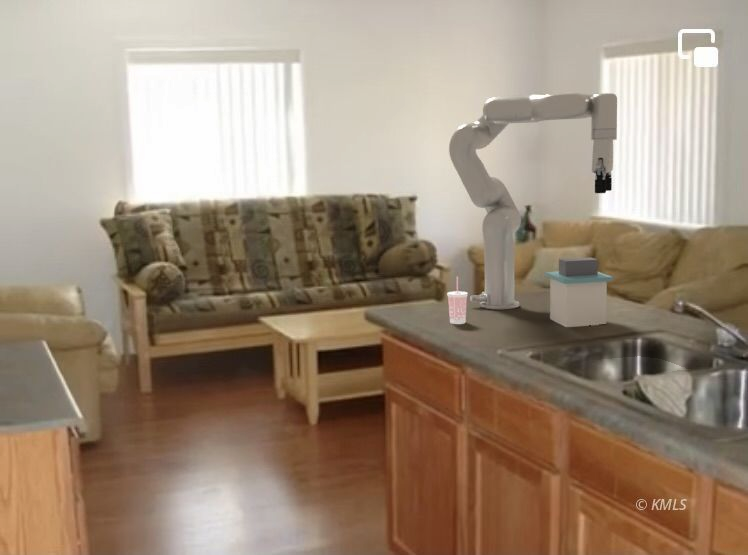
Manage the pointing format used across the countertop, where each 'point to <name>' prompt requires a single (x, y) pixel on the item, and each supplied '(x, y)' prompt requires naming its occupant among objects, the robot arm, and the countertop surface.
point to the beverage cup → (457, 306)
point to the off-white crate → (578, 303)
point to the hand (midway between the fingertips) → (603, 191)
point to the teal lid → (578, 271)
